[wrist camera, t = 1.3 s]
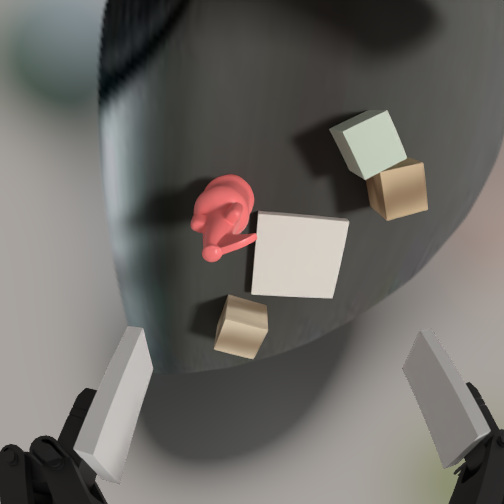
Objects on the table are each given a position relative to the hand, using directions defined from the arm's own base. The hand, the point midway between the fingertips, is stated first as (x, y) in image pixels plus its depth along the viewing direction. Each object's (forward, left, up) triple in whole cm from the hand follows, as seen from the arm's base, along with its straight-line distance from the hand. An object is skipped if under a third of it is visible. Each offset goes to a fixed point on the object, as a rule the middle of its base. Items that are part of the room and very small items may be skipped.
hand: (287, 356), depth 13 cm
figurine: (-2, -4, -22) cm, 22 cm away
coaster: (+5, +4, -21) cm, 22 cm away
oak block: (-5, +13, -22) cm, 26 cm away
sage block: (-9, +9, -22) cm, 25 cm away
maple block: (+14, -2, -22) cm, 26 cm away
